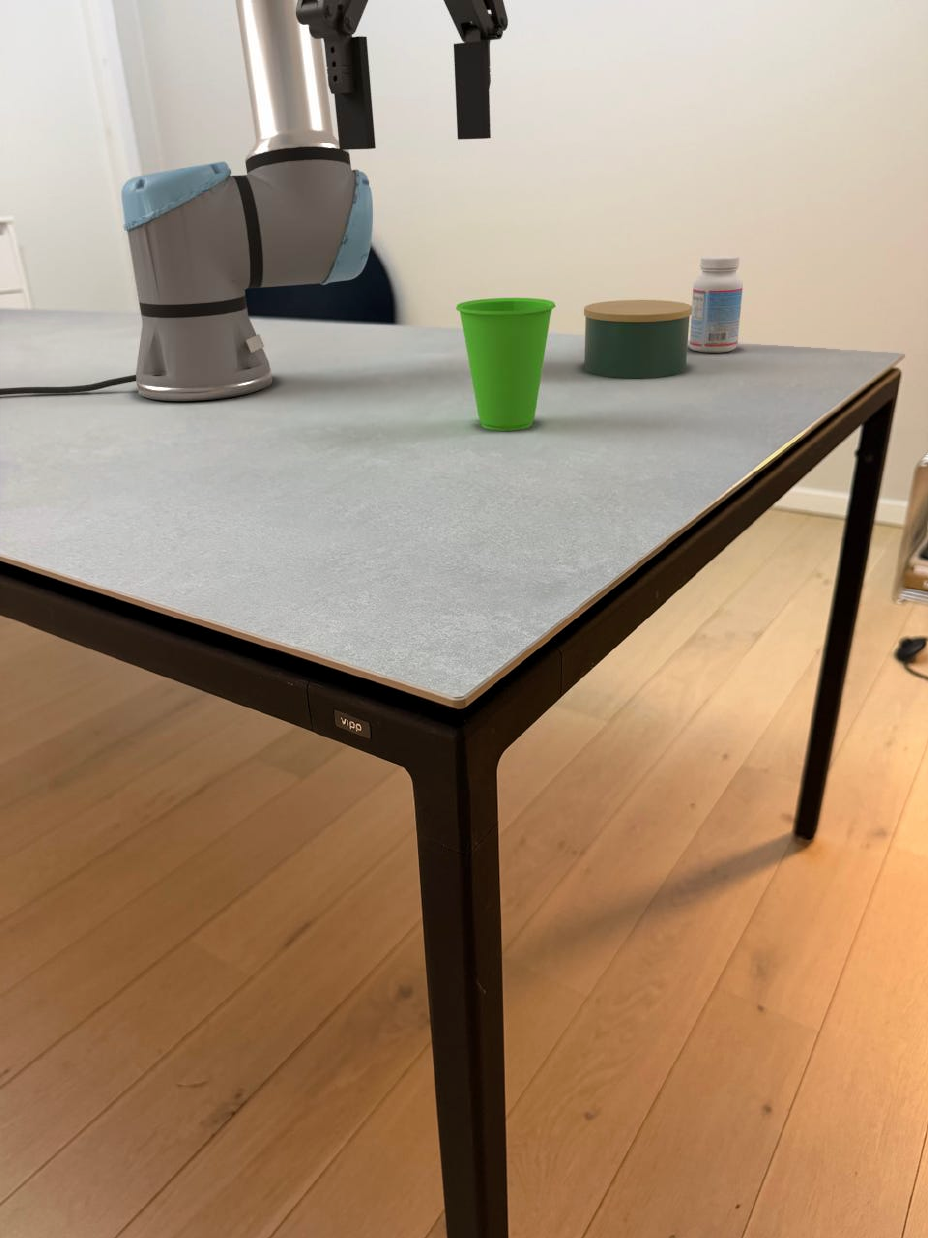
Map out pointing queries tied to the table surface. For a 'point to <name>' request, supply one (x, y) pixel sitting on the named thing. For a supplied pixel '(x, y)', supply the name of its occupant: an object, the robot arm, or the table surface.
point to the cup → (506, 357)
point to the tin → (636, 338)
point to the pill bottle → (716, 305)
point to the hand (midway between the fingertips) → (419, 144)
